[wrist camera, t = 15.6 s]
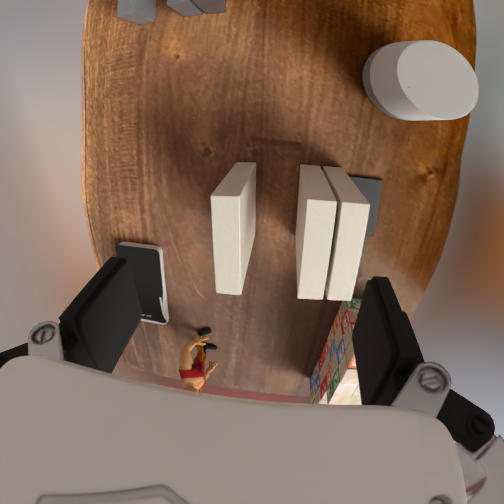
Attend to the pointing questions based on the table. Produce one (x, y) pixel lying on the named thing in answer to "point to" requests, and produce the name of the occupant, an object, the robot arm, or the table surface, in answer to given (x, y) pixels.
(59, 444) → the robot arm
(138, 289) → the smartphone
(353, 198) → the white books
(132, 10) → the grey books
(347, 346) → the stack of blocks
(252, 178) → the cream book
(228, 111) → the table surface
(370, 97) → the smart speaker
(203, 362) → the action figure
